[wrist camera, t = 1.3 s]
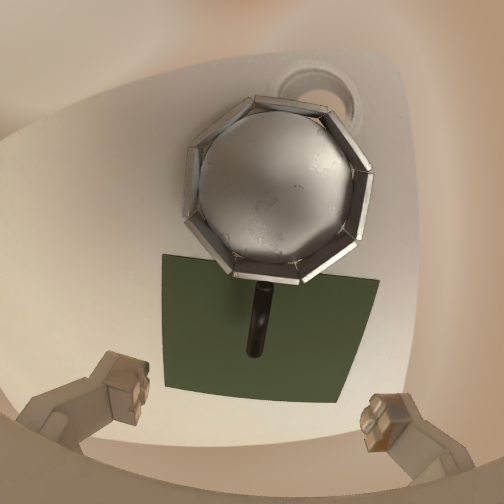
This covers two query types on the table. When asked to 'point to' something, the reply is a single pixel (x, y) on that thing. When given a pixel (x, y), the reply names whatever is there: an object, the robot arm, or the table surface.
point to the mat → (277, 336)
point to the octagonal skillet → (276, 196)
